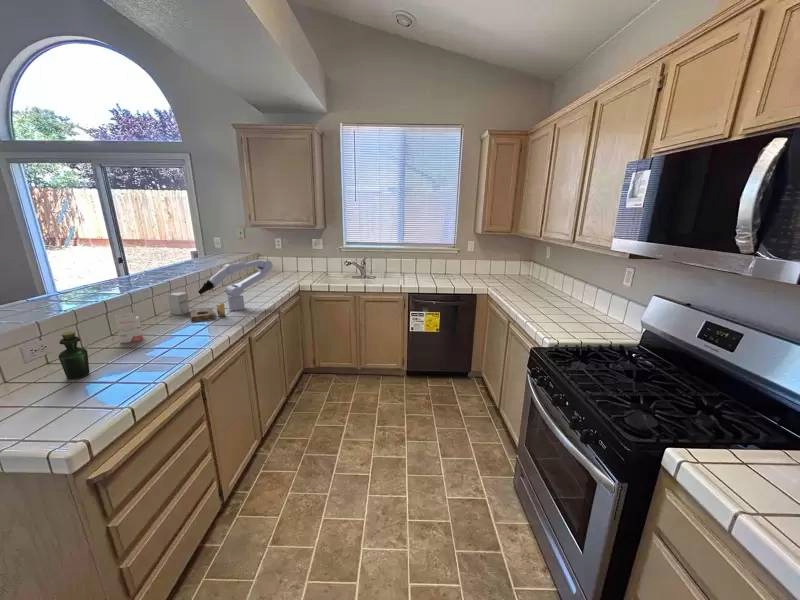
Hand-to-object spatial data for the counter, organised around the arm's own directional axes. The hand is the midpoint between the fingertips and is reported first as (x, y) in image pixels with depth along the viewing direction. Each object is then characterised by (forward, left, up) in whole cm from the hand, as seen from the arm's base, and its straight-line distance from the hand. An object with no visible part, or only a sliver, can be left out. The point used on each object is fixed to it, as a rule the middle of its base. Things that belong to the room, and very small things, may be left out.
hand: (200, 292), depth 202 cm
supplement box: (+12, -14, -15) cm, 24 cm away
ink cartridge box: (+32, +28, -15) cm, 46 cm away
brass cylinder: (-10, +5, -15) cm, 19 cm away
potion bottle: (+45, +63, -15) cm, 80 cm away
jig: (0, +1, -15) cm, 15 cm away
